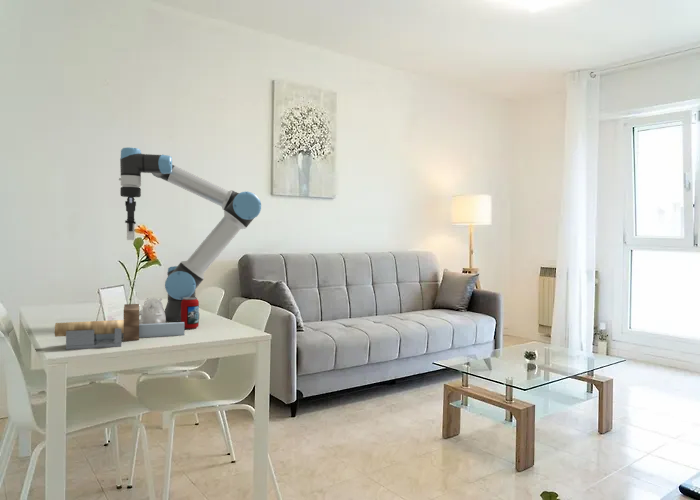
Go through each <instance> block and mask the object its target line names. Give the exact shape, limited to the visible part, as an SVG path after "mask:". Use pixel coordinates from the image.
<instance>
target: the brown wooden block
mask: <svg viewBox="0 0 700 500" xmlns="http://www.w3.org/2000/svg"><path fill="white" fill-rule="evenodd" d="M139 312H140V303H128V304H127V303H126V304H124V306H123V320H124V333H123V339H122V342H129V341H130V342H131V341H140V338H139V320H140V315H139Z"/></svg>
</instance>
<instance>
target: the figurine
mask: <svg viewBox="0 0 700 500" xmlns="http://www.w3.org/2000/svg"><path fill="white" fill-rule="evenodd" d="M162 300H163V299H162V298H159V299H158V298H155V297H153V298H146V299H145V301H144V303H143V305H142V309H141V310H139V316H140V318H139V324H155V323H167V321H166V315H165V309H164V306H163V303H162Z"/></svg>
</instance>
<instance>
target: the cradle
mask: <svg viewBox="0 0 700 500" xmlns="http://www.w3.org/2000/svg"><path fill="white" fill-rule="evenodd" d="M122 342H123V339H122V333H121V328H115V339H100V340H96V335H95V329H89V330H69V331H66V336H65V350H66V351H69V349H71V350H84V349H86V350H87V349H98V348H99V349H100V348H101V349H102V348H116V347H117V348H118V347H122V344H123V343H122Z"/></svg>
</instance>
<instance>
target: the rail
mask: <svg viewBox="0 0 700 500" xmlns="http://www.w3.org/2000/svg"><path fill="white" fill-rule="evenodd" d="M184 335H185V329H184V322H181V321H174V322H165V323H155V324H139V339H140V338H153V337H155V338H157V337H171V336H172V337H174V336H175V337H176V336H184ZM100 339H115V334H97V335H96V340H100ZM122 340H123V333H122Z"/></svg>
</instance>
